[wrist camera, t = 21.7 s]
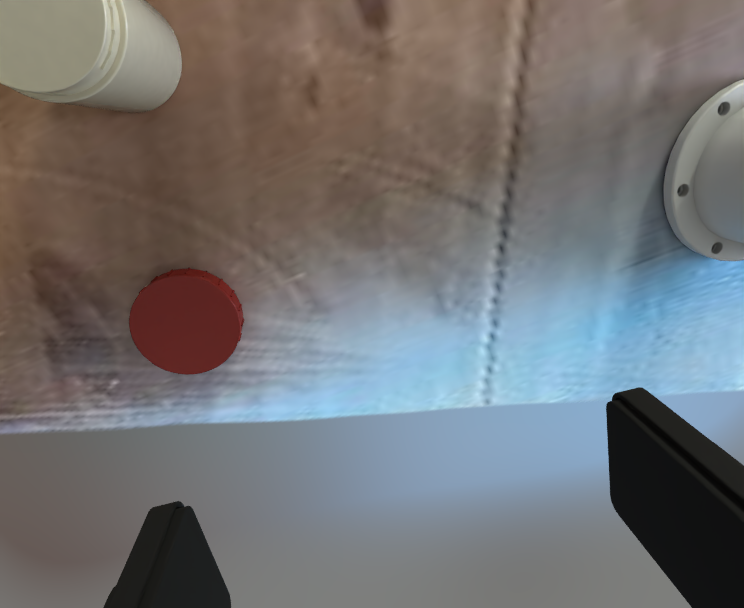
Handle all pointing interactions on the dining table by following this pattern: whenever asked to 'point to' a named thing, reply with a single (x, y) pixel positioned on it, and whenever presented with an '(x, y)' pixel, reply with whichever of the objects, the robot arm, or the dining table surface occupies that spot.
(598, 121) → the dining table surface
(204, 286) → the lid
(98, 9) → the jar
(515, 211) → the dining table surface
